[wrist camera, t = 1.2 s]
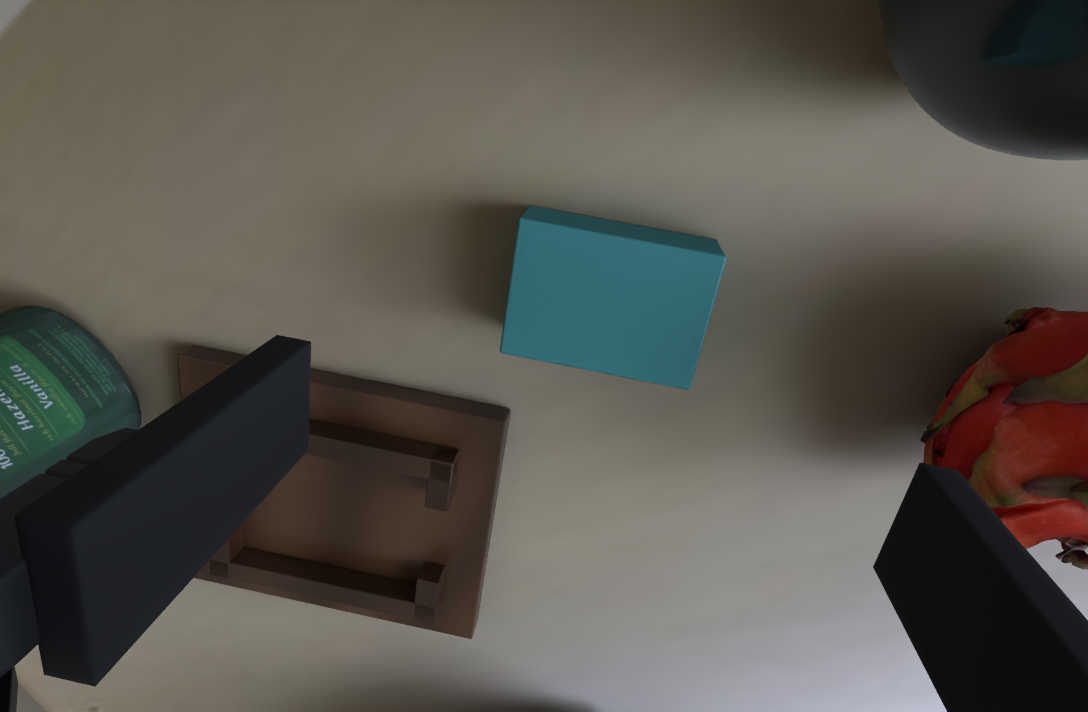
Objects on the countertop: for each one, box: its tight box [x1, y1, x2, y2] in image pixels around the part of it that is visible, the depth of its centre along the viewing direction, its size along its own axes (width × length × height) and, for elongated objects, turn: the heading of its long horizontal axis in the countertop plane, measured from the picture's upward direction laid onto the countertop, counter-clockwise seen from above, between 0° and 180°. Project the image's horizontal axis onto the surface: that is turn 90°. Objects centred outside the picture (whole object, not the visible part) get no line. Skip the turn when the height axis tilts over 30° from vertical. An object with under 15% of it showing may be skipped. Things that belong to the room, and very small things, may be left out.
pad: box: [500, 206, 726, 390], centre depth 24 cm, size 7×5×3 cm
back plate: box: [178, 345, 510, 639], centre depth 29 cm, size 14×12×2 cm
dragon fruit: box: [921, 307, 1088, 569], centre depth 21 cm, size 8×8×12 cm
